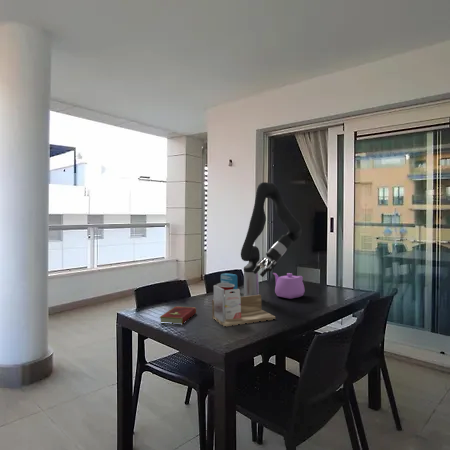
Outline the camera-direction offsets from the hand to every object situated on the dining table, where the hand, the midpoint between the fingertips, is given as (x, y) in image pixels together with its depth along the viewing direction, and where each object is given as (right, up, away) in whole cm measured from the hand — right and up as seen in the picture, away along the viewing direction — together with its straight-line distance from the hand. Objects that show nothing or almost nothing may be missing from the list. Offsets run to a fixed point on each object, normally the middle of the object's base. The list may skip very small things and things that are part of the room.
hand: (257, 274), depth 192 cm
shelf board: (-8, -22, -7) cm, 24 cm away
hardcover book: (-41, -23, -5) cm, 48 cm away
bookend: (-20, -21, -13) cm, 31 cm away
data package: (-14, -20, +61) cm, 66 cm away
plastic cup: (-17, -21, +25) cm, 37 cm away
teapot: (+24, -20, +41) cm, 52 cm away
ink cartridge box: (-14, -21, -10) cm, 27 cm away
